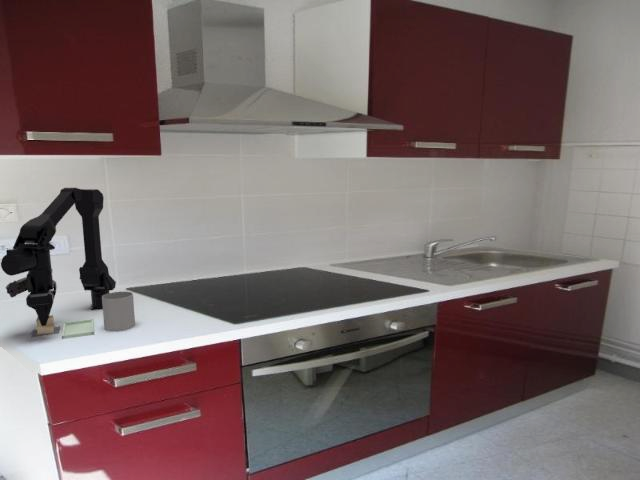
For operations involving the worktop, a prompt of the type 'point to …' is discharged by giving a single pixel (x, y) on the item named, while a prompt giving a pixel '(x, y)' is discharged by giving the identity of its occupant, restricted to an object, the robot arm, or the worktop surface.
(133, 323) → the cup
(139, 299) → the worktop surface
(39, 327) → the letter cube
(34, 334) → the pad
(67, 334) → the tray
